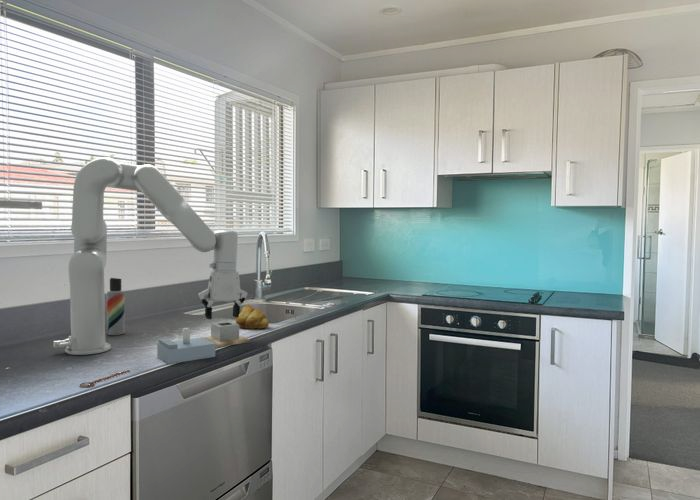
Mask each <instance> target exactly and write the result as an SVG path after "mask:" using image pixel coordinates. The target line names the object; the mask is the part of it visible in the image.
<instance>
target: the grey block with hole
mask: <svg viewBox="0 0 700 500" xmlns="http://www.w3.org/2000/svg"><path fill="white" fill-rule="evenodd" d="M239 336H240V327H239V324H236V322H233V321H230V320H228V321H221V322H213V323H210V337H211V338H212V339H214V340H216V341H219V342H224V341H231V340H238V339H239Z"/></svg>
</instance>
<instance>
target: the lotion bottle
mask: <svg viewBox="0 0 700 500" xmlns="http://www.w3.org/2000/svg"><path fill="white" fill-rule="evenodd" d="M125 305H126V304H125V290H122V278H117V277H110V278H109V290H108V291H106V318H107V319H106V325H107V326H106V328H107V332H106V333H107V335H109V336H119V335H124V334H125V331H126V319H125V316H126V315H125V312H126V311H125V310H126V309H125V307H126V306H125Z"/></svg>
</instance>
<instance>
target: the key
mask: <svg viewBox="0 0 700 500" xmlns="http://www.w3.org/2000/svg"><path fill="white" fill-rule="evenodd" d="M122 371H123V372H121V373H116V372H115V373H116V374H114V375H109V376H105V377H102V378H99V379H97V380H93V381H89V382H87V383H89V384H90V385H88V384H84V383H85V382H83V383H81V384H83V385H81V384H79V385H80V386H81V387H80V388H82V387H87V388H91V387H90V386H92V387H94V386H95V384H97V383H96V382H98V383H101V382H103V381H102V380H104V381H107V380H110V379H112V378H111V377H113V378H115V377H114V376H116V377H118V376H117V375H119V376H121V375H120V374H122V375H124V374H123V373H125V374H127V373H126V372H128V373H130V372H131V370H130V369H127V370H122ZM109 378H110V379H109ZM106 379H107V380H106ZM100 381H101V382H100ZM94 383H95V384H94Z"/></svg>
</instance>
